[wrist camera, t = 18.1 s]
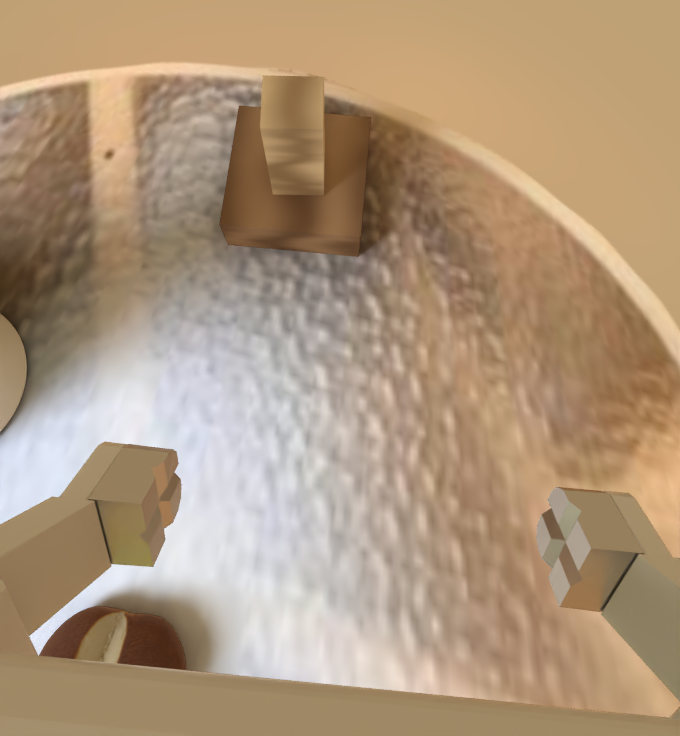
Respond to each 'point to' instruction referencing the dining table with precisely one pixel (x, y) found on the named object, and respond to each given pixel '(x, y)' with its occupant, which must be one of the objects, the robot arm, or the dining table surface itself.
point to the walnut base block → (297, 212)
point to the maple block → (294, 133)
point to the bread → (117, 639)
